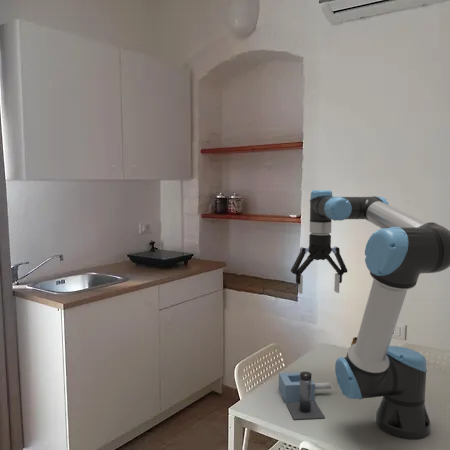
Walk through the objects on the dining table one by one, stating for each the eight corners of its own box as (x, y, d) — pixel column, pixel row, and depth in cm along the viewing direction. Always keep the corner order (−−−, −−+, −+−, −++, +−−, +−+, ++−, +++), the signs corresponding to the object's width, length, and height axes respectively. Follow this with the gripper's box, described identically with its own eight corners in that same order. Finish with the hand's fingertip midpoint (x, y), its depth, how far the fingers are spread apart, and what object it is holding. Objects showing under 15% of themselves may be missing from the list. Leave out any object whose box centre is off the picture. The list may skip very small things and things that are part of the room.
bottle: (308, 407, 146) (309, 371, 145) (312, 412, 142) (313, 375, 141) (298, 407, 145) (298, 371, 144) (301, 413, 142) (301, 376, 141)
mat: (325, 418, 139) (325, 417, 139) (293, 420, 138) (293, 418, 138) (315, 403, 149) (315, 401, 149) (285, 404, 148) (285, 403, 148)
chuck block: (334, 400, 151) (335, 383, 150) (285, 402, 149) (285, 385, 149) (325, 387, 161) (325, 371, 160) (278, 389, 159) (278, 373, 159)
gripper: (349, 232, 165) (347, 289, 167) (283, 232, 161) (282, 290, 163) (358, 234, 157) (356, 294, 159) (288, 235, 154) (287, 296, 156)
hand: (318, 292), depth 161 cm, fingers open, 13 cm apart
